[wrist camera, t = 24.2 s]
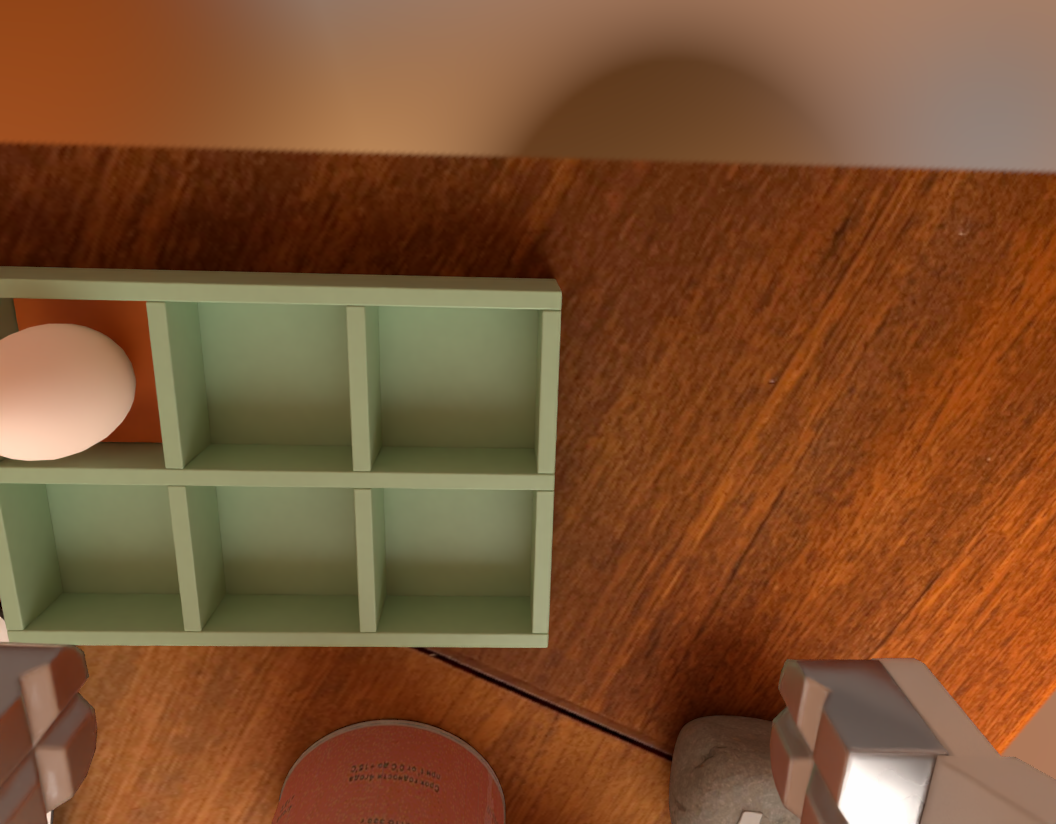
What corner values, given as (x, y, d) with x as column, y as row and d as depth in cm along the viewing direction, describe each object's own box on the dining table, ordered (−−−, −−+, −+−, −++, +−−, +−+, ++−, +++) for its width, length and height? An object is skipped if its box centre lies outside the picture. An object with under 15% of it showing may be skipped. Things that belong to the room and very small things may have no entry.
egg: (187, 382, 31) (94, 443, 24) (100, 443, 32) (-15, 519, 25) (107, 286, 30) (-15, 320, 23) (18, 351, 31) (-128, 404, 24)
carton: (-1, 265, 30) (-64, 276, 27) (555, 278, 31) (562, 290, 28) (56, 600, 35) (8, 645, 31) (544, 603, 35) (548, 648, 32)
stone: (643, 875, 40) (690, 979, 30) (637, 696, 42) (681, 738, 32) (813, 871, 41) (914, 973, 31) (801, 694, 42) (893, 735, 32)
